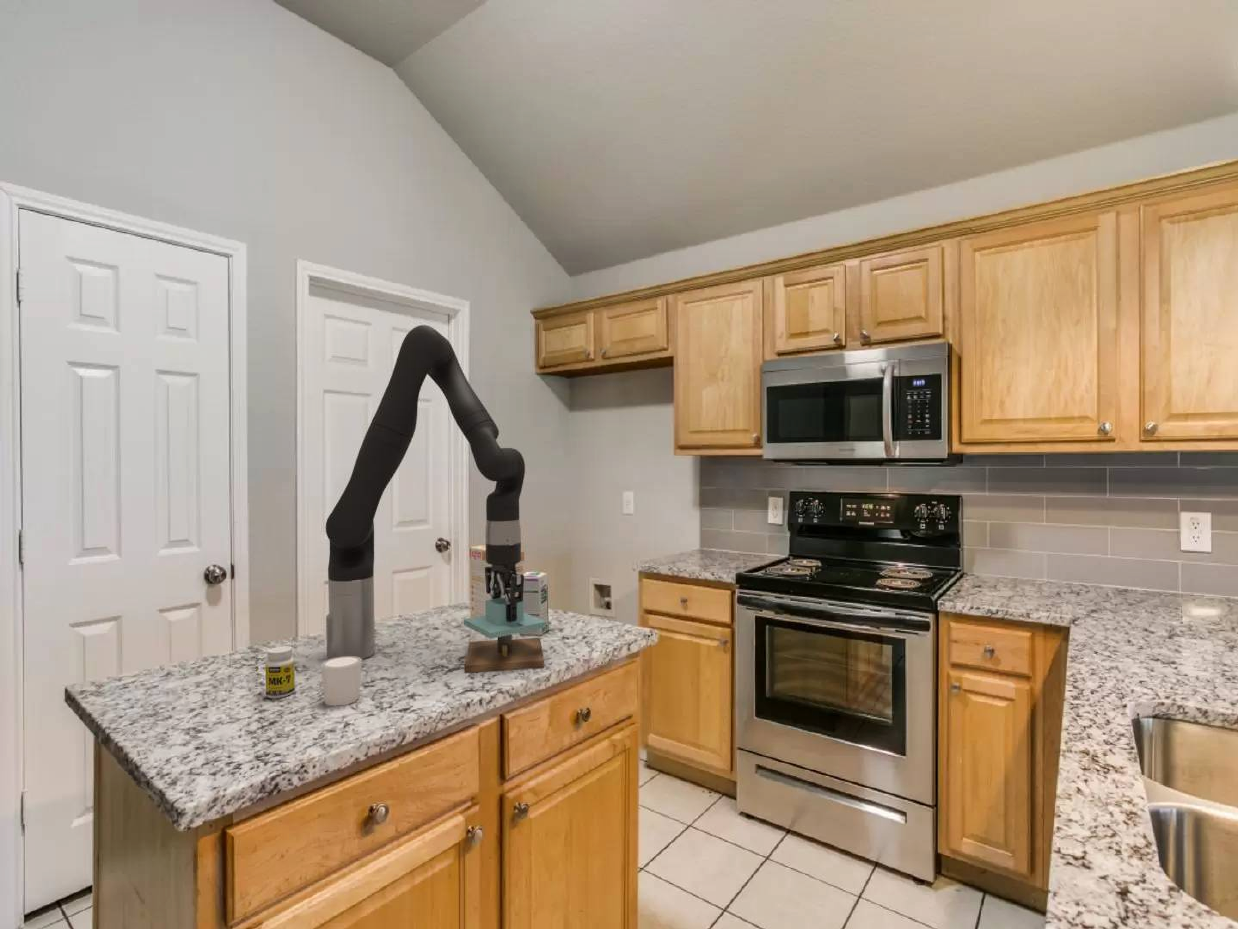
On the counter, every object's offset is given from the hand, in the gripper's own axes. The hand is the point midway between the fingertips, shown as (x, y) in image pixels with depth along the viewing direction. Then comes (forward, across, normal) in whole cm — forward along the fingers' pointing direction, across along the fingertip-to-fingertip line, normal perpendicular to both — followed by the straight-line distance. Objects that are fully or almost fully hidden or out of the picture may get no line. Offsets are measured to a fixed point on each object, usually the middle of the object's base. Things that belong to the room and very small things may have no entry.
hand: (504, 617), depth 139 cm
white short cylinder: (+9, +3, -34) cm, 35 cm away
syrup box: (+9, -13, +14) cm, 21 cm away
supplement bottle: (+9, -7, -42) cm, 44 cm away
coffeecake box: (+9, -27, +12) cm, 31 cm away
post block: (+9, 0, 0) cm, 9 cm away
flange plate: (+2, 0, 0) cm, 2 cm away
